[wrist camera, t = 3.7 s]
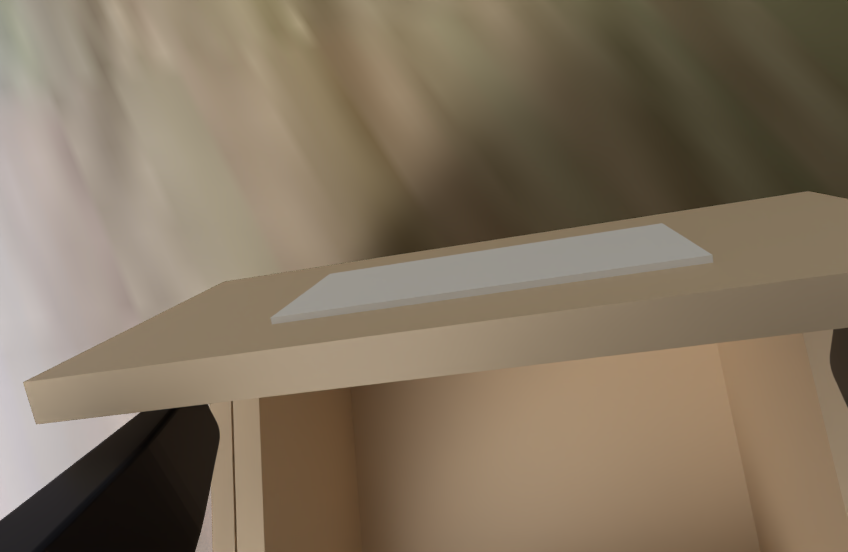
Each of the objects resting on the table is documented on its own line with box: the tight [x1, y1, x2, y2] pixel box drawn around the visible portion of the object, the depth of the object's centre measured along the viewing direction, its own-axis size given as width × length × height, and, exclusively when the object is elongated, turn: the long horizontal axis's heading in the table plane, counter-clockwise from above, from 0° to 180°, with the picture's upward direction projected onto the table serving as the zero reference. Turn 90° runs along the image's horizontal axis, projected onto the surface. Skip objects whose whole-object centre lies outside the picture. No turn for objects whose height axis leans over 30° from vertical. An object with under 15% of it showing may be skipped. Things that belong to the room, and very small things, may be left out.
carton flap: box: [23, 191, 848, 424], centre depth 10 cm, size 6×12×1 cm
